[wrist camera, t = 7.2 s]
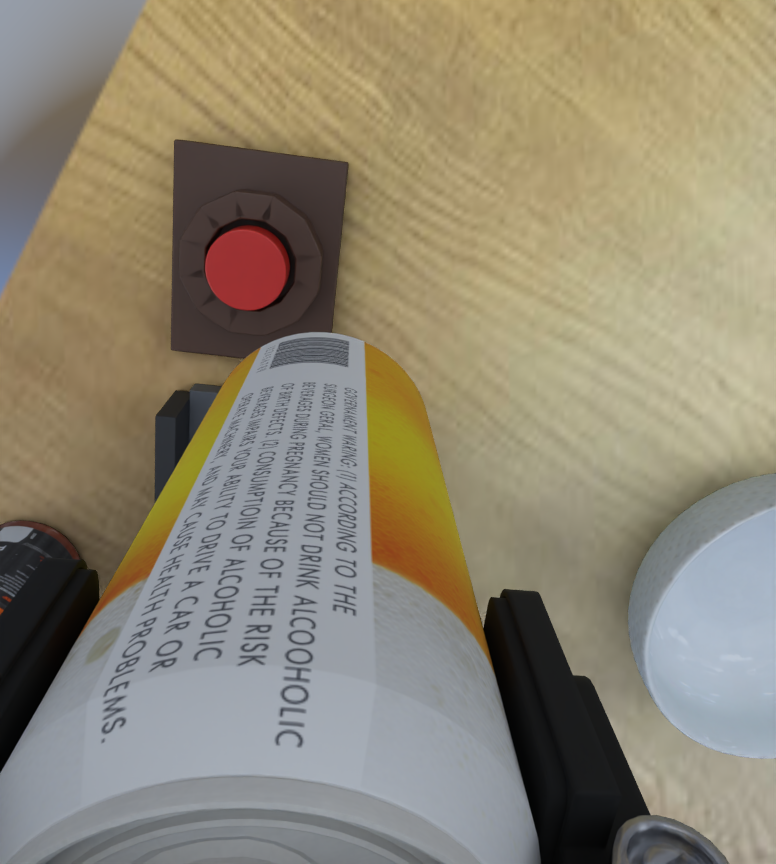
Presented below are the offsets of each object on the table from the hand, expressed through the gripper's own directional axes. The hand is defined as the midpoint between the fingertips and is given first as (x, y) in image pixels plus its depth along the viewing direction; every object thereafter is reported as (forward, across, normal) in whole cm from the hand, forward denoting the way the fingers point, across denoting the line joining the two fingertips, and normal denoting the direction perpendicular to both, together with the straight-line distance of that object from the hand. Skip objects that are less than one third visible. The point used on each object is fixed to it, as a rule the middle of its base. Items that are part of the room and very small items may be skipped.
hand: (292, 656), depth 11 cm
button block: (+27, +4, -2) cm, 28 cm away
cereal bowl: (+27, -26, +14) cm, 40 cm away
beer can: (+10, 0, 0) cm, 10 cm away
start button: (+25, +4, -2) cm, 25 cm away
